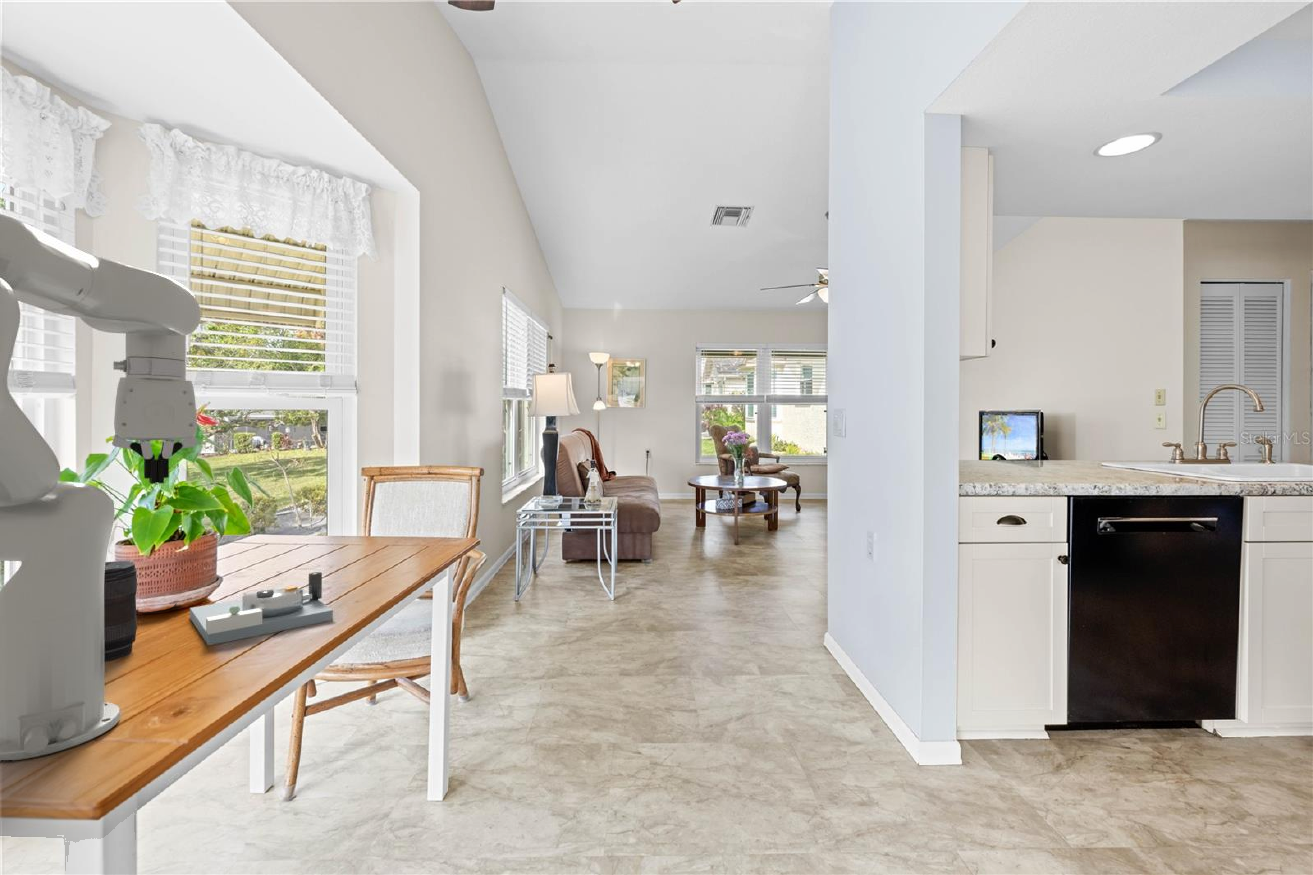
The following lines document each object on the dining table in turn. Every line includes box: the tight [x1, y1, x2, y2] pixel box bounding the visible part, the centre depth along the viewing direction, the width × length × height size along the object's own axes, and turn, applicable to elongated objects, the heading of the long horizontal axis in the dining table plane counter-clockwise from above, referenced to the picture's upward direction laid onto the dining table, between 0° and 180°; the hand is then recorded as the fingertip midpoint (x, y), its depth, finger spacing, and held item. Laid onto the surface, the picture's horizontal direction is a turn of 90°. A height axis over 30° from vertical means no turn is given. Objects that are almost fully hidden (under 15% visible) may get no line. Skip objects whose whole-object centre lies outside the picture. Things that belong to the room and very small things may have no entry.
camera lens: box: [104, 560, 138, 662], centre depth 98 cm, size 8×8×15 cm
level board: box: [189, 588, 334, 646], centre depth 118 cm, size 20×20×6 cm
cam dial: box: [241, 571, 323, 617], centre depth 119 cm, size 15×10×5 cm
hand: (156, 482), depth 97 cm, fingers closed
